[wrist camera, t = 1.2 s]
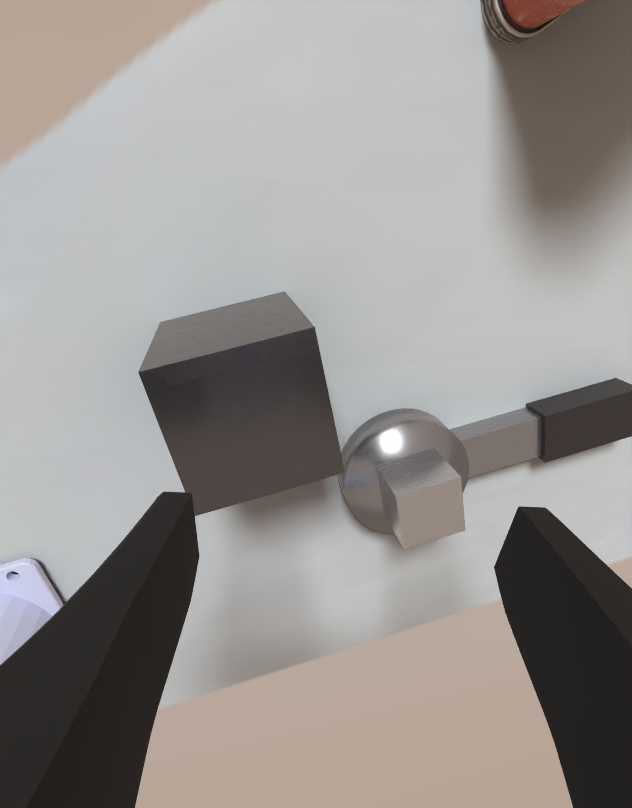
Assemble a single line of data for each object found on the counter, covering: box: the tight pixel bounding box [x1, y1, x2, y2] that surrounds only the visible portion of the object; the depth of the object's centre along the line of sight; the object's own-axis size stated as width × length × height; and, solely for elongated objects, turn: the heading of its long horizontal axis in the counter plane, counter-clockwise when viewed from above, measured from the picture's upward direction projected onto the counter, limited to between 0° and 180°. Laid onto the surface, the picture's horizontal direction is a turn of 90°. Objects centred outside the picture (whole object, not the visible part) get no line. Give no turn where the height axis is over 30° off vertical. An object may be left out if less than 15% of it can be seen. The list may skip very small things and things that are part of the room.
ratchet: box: [338, 378, 632, 549], centre depth 22 cm, size 15×6×4 cm, turn 102°
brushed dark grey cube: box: [139, 292, 345, 516], centre depth 17 cm, size 5×5×6 cm
